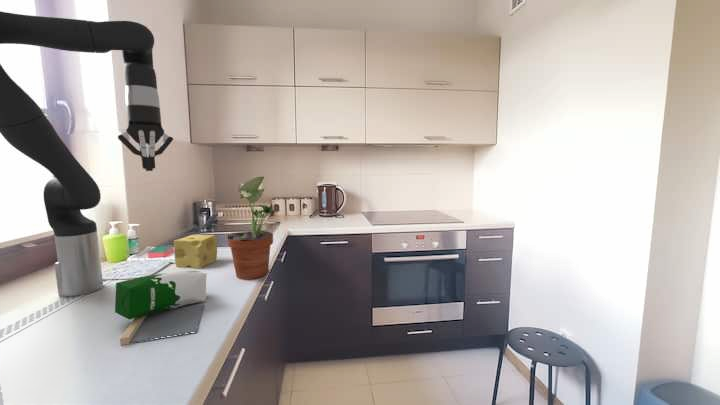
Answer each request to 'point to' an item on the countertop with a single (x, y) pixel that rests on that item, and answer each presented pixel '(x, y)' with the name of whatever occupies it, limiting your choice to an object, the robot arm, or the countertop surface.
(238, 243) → the potted plant
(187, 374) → the countertop surface
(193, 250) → the cheese
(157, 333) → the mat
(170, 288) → the white and green box
